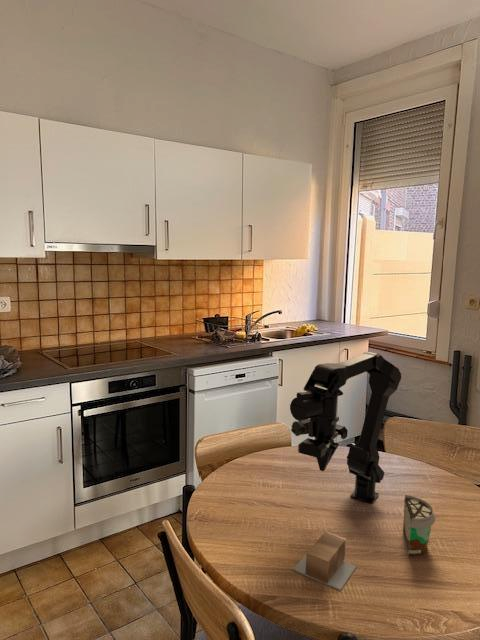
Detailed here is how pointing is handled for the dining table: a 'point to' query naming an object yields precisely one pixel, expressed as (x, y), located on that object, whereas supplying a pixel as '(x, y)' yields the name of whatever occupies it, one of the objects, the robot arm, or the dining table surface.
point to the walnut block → (325, 557)
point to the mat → (337, 579)
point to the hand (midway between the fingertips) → (322, 470)
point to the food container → (417, 525)
